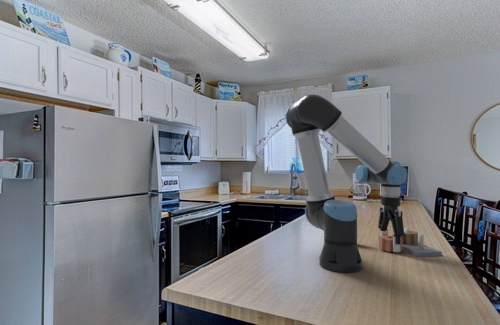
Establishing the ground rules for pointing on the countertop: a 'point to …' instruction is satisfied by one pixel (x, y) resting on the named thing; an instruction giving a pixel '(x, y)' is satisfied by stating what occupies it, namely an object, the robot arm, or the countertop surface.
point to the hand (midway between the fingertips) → (390, 248)
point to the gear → (387, 243)
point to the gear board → (417, 244)
